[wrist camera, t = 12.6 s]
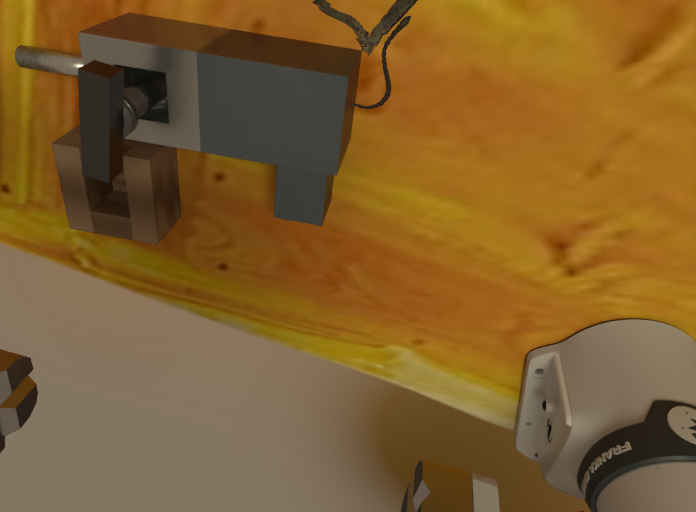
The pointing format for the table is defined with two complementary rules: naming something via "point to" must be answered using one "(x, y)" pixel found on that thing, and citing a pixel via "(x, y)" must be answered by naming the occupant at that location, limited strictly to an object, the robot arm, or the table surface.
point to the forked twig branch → (374, 32)
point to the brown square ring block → (121, 191)
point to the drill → (233, 97)
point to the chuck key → (111, 114)
